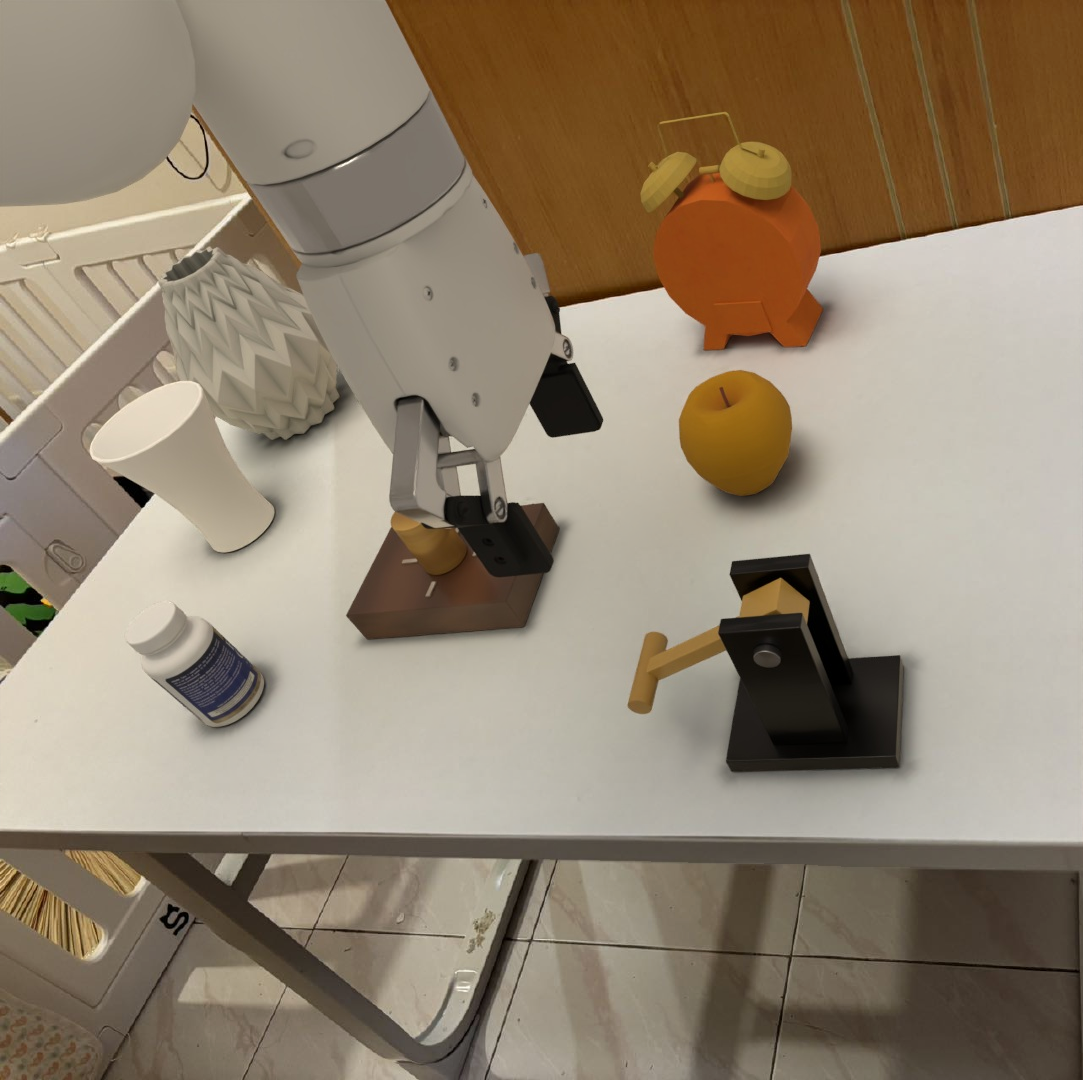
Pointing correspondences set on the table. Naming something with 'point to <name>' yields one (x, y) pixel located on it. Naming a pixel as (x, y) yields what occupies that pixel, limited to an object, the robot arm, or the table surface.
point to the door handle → (704, 642)
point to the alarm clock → (736, 244)
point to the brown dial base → (444, 591)
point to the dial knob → (430, 544)
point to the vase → (247, 345)
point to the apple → (736, 431)
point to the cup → (184, 463)
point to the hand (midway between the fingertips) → (552, 496)
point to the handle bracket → (806, 684)
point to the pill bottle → (195, 664)
